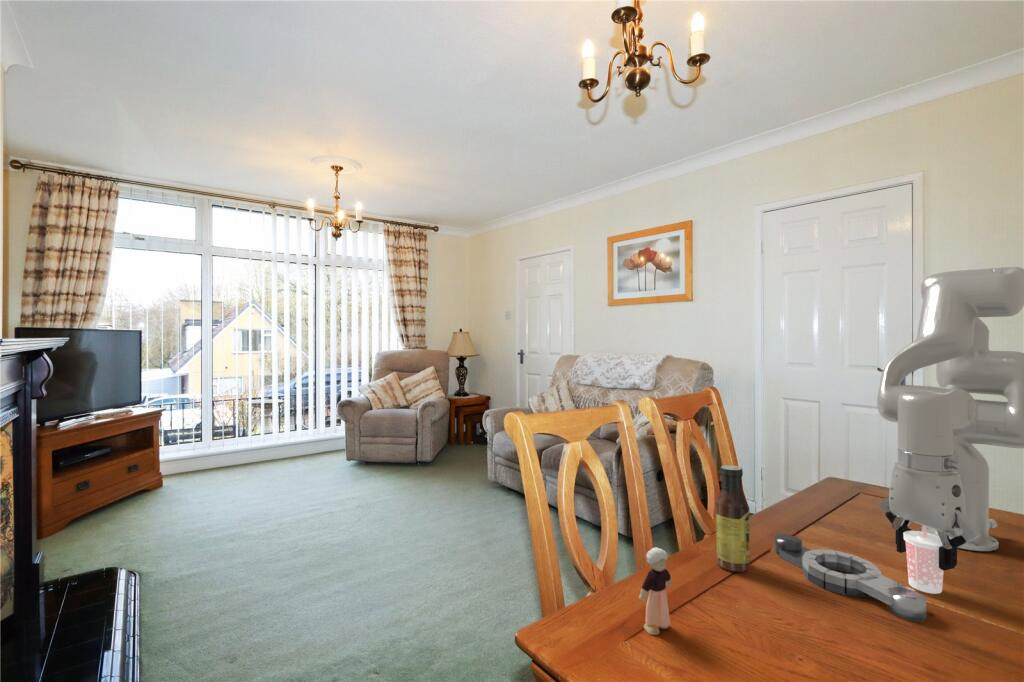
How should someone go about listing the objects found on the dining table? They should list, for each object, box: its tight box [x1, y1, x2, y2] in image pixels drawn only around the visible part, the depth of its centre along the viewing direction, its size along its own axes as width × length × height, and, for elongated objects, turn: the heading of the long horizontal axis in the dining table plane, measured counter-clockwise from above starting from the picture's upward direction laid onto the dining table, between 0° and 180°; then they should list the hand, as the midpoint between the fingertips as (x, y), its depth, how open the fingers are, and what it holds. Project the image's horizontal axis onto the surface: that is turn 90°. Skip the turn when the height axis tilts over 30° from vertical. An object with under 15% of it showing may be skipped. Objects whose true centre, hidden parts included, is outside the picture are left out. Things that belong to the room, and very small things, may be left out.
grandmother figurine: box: [638, 546, 673, 636], centre depth 77 cm, size 8×4×13 cm, turn 137°
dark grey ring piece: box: [774, 533, 872, 598], centre depth 95 cm, size 12×20×3 cm, turn 18°
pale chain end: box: [802, 548, 927, 623], centre depth 87 cm, size 12×20×3 cm, turn 18°
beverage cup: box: [903, 525, 945, 595], centre depth 87 cm, size 6×6×14 cm
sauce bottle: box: [715, 464, 751, 573], centre depth 97 cm, size 7×6×20 cm
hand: (924, 558), depth 87 cm, fingers closed on beverage cup, 6 cm apart
